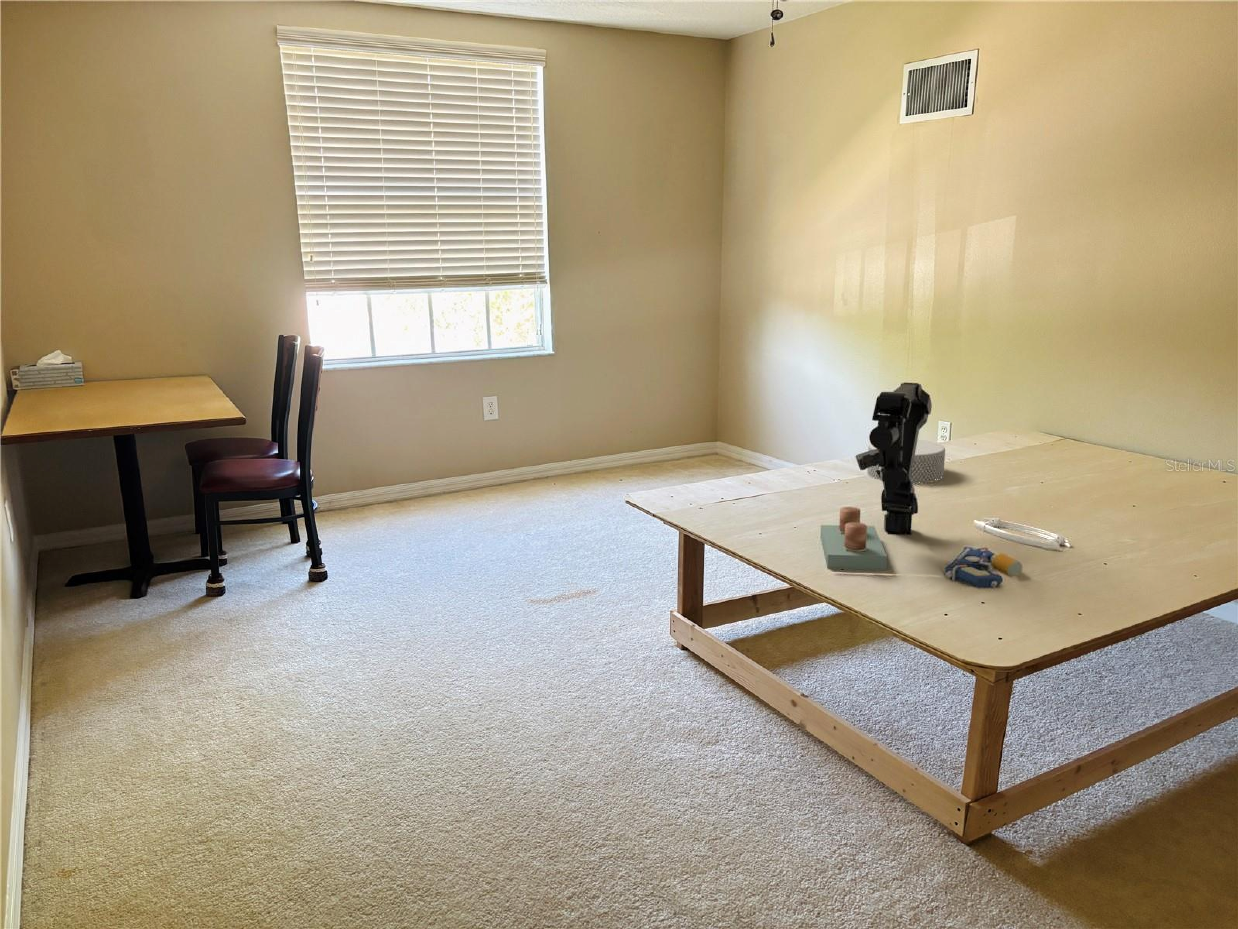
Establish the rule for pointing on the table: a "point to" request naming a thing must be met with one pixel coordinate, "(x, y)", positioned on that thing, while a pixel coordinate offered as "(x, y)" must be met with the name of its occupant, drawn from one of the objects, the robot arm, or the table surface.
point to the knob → (921, 462)
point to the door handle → (1045, 544)
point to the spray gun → (982, 567)
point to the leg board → (846, 559)
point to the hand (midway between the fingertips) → (888, 499)
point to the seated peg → (848, 517)
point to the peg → (855, 537)
